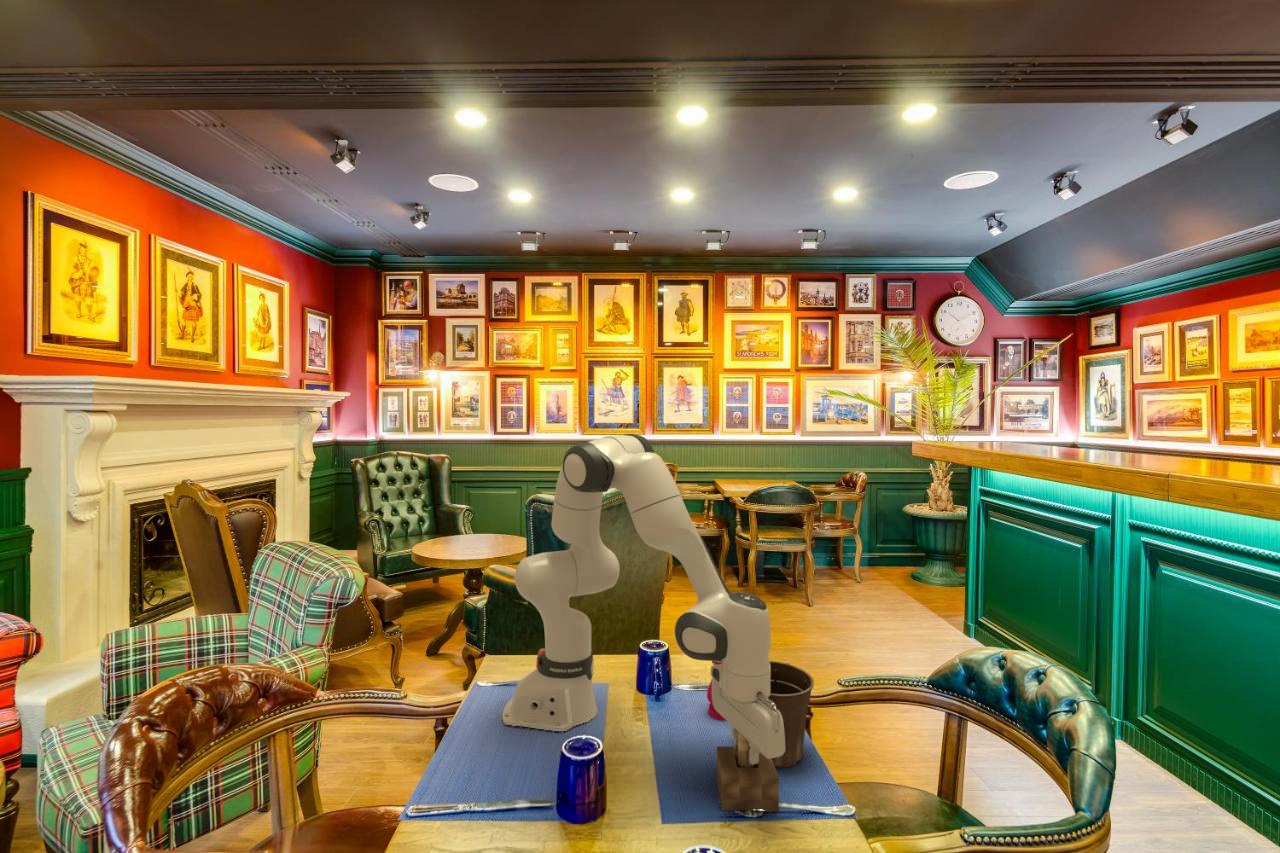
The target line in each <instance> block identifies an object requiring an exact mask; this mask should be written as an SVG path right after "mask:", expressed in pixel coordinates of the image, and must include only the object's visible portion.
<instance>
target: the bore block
mask: <svg viewBox="0 0 1280 853" xmlns="http://www.w3.org/2000/svg"><path fill="white" fill-rule="evenodd" d="M779 780H780V778H779V775H778V772H777V769H776V767H775V766H774V763H773V760H772V758H771V759H767V758H766V757H765V756H764V755H762V754H761V753H759V762H758V763H757V764H754V768H738V751H737V750H736V749H735V748H734V746H723V745H722V746H720V745H719V746H718V745H717V746H716V781H717V787H718V788H717V789H718V792H719V793H718V794H719V799H720V803H721V805H720V806H721V810H722V811H727V812H729V811H730V812H731V811H732V812H739V811H738V810H742V811H741V812H747V811H746V810H753V809H763V810H766V812H767V813H768V811H769V812H770V813H772V812H774V813H775V812H776V813H778V812H779V810H780V808H779V806H780V805H779V803H780V802H779V800H780V799H779V798H780V796H779V792H780V781H779ZM743 810H745V811H743Z"/></svg>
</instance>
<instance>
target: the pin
mask: <svg viewBox="0 0 1280 853" xmlns="http://www.w3.org/2000/svg"><path fill="white" fill-rule="evenodd" d="M750 748H751V747H750V746H749V741H748V740H747V739H746V738H745V737H743V736H742V735H741V734H740V733H739V732H738V768H754V764H753V765H752V764H750V763H749V762H748V761H747V759H746V757H747V756H746V751H750Z"/></svg>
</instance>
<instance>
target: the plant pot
mask: <svg viewBox="0 0 1280 853" xmlns="http://www.w3.org/2000/svg"><path fill="white" fill-rule="evenodd" d="M769 662H770V665H771V693H770V696H769V697H768V699H769V700H771V701H773V702H774V703H775V704H776V708H777V709H778V710H779V712H780V713H781V715H782V718H783V724H784V733H785V752H784V754H783V755H782V756H780V757H776V758H772V760H773V763H774V766H775V768H778V769H781V768H789V767H793V766H795V765H796V764H797V763H798V762H800V761H802V759H803V754H804V742H805V732H806V724H807V715H808V709H809V708H808V707H809V705H810V701H811V696H812V695H811V694H812V690H813V688H814V686H815V680H814V678H813V676H812V675H811V674H810V673H809V672H807V671H806V670H804V669H802V668H800V667H798V666H795V665H793V664H791V663H790V664H786V663H787V662H781V661H773V660H772V661H771V660H769Z"/></svg>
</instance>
